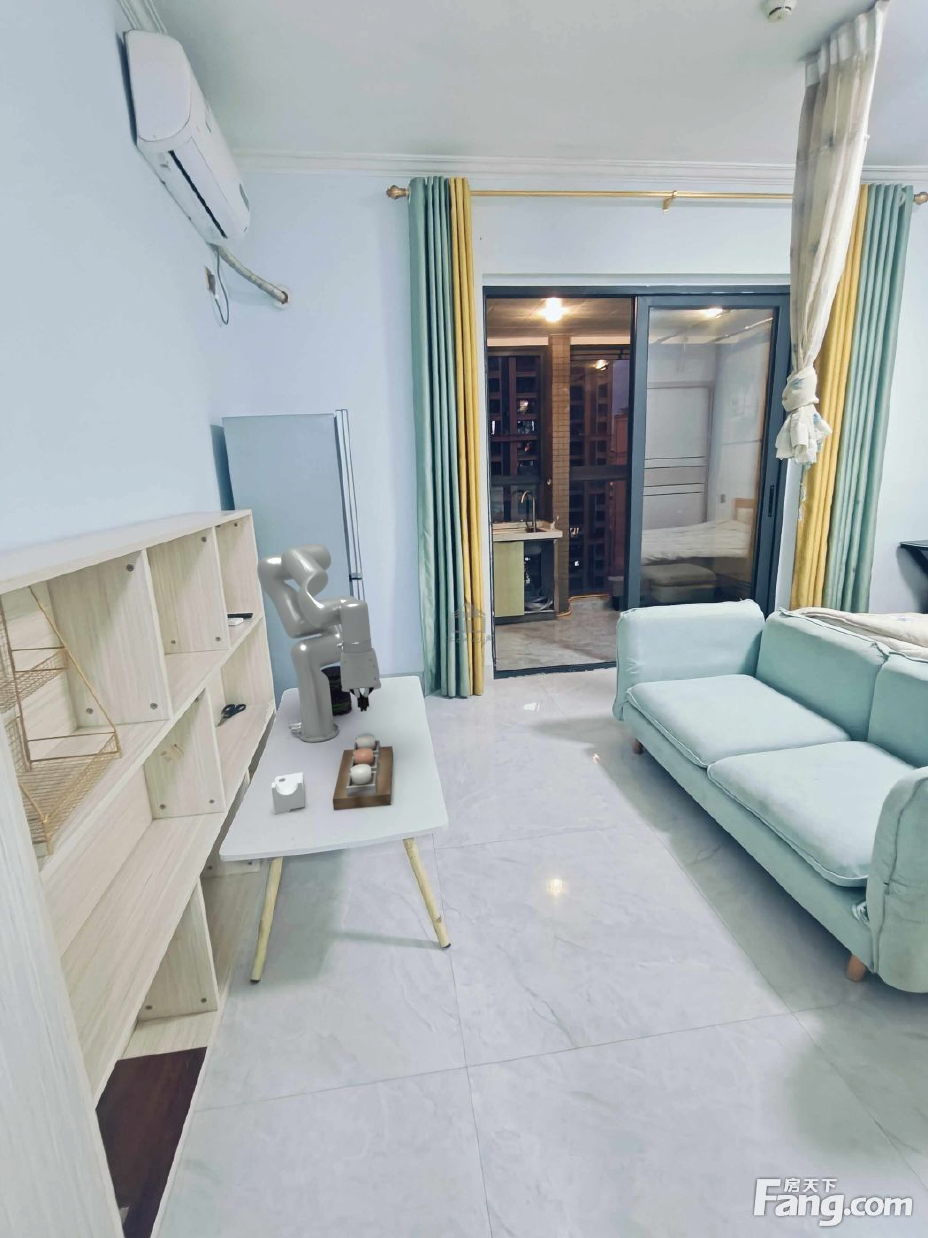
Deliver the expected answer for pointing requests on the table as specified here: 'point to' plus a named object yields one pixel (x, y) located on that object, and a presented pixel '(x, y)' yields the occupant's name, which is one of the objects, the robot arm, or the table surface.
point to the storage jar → (337, 692)
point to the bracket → (288, 792)
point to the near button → (361, 774)
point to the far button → (366, 741)
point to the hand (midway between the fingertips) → (363, 709)
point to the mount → (371, 792)
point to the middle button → (363, 756)
